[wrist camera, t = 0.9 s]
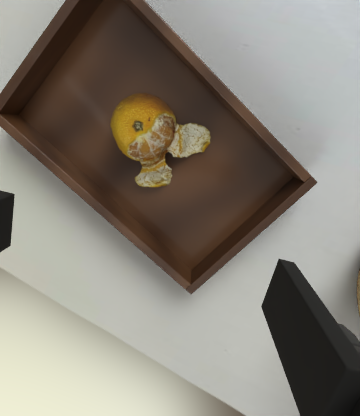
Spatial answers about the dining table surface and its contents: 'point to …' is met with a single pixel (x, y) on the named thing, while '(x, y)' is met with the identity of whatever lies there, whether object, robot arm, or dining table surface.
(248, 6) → the dining table surface
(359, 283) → the ceramic vessel
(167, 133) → the fruit
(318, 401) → the robot arm
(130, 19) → the bin
